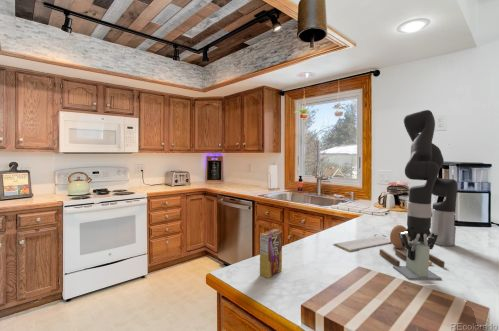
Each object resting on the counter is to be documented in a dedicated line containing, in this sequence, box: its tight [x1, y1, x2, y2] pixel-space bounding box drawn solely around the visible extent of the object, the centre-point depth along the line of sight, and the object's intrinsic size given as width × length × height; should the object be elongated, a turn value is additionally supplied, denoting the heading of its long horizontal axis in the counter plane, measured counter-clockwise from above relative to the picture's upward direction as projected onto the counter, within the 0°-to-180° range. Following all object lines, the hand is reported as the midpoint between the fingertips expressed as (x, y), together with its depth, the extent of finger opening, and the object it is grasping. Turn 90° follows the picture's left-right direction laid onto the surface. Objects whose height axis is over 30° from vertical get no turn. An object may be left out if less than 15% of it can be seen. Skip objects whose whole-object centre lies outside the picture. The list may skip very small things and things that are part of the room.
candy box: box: [259, 228, 283, 279], centre depth 97 cm, size 9×4×15 cm, turn 140°
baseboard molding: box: [333, 233, 392, 252], centre depth 133 cm, size 31×3×12 cm
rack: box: [379, 248, 445, 268], centre depth 112 cm, size 19×13×2 cm
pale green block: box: [405, 242, 431, 277], centre depth 99 cm, size 3×8×11 cm, turn 2°
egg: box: [389, 224, 409, 250], centre depth 126 cm, size 8×8×11 cm
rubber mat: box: [392, 265, 443, 281], centre depth 99 cm, size 12×10×1 cm
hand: (416, 259), depth 99 cm, fingers open, 3 cm apart
